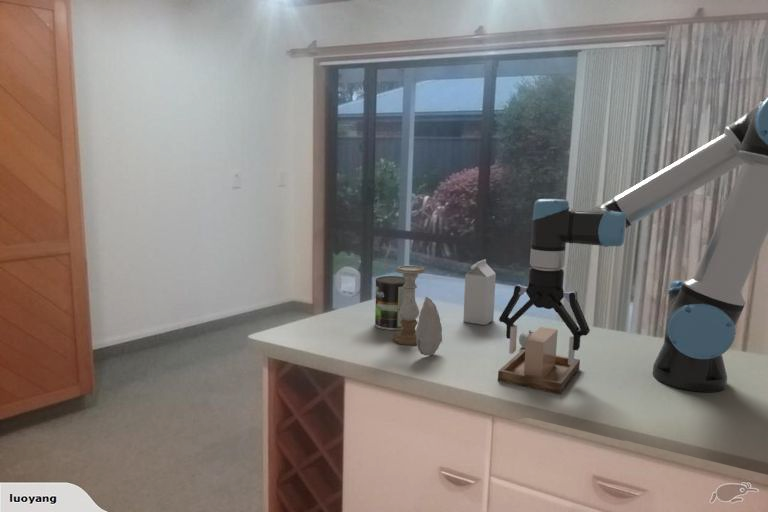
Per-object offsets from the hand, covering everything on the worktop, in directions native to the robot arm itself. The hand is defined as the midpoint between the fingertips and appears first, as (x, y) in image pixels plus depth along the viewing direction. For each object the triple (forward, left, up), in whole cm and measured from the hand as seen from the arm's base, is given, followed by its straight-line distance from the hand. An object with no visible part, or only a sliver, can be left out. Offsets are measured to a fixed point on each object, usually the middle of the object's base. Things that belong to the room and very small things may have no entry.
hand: (540, 357), depth 134 cm
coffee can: (+49, -16, -4) cm, 52 cm away
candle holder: (+38, -6, -4) cm, 39 cm away
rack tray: (0, 0, -4) cm, 4 cm away
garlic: (+8, -18, -4) cm, 20 cm away
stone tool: (+28, +2, -4) cm, 28 cm away
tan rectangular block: (0, 0, -3) cm, 3 cm away
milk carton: (+29, -35, -4) cm, 46 cm away
